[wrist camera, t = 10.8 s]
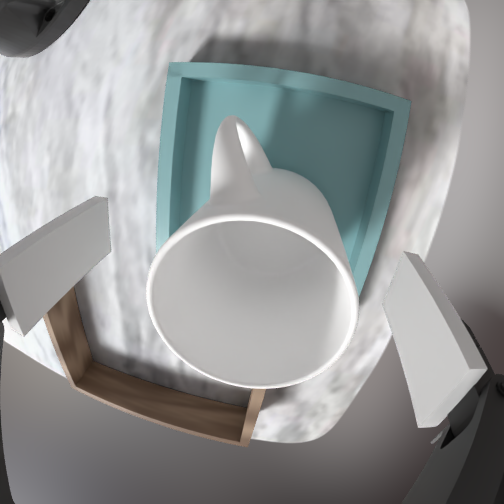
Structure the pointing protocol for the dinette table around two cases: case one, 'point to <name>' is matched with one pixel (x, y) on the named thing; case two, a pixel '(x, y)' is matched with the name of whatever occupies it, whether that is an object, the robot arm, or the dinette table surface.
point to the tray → (284, 143)
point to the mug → (255, 274)
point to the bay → (144, 386)
